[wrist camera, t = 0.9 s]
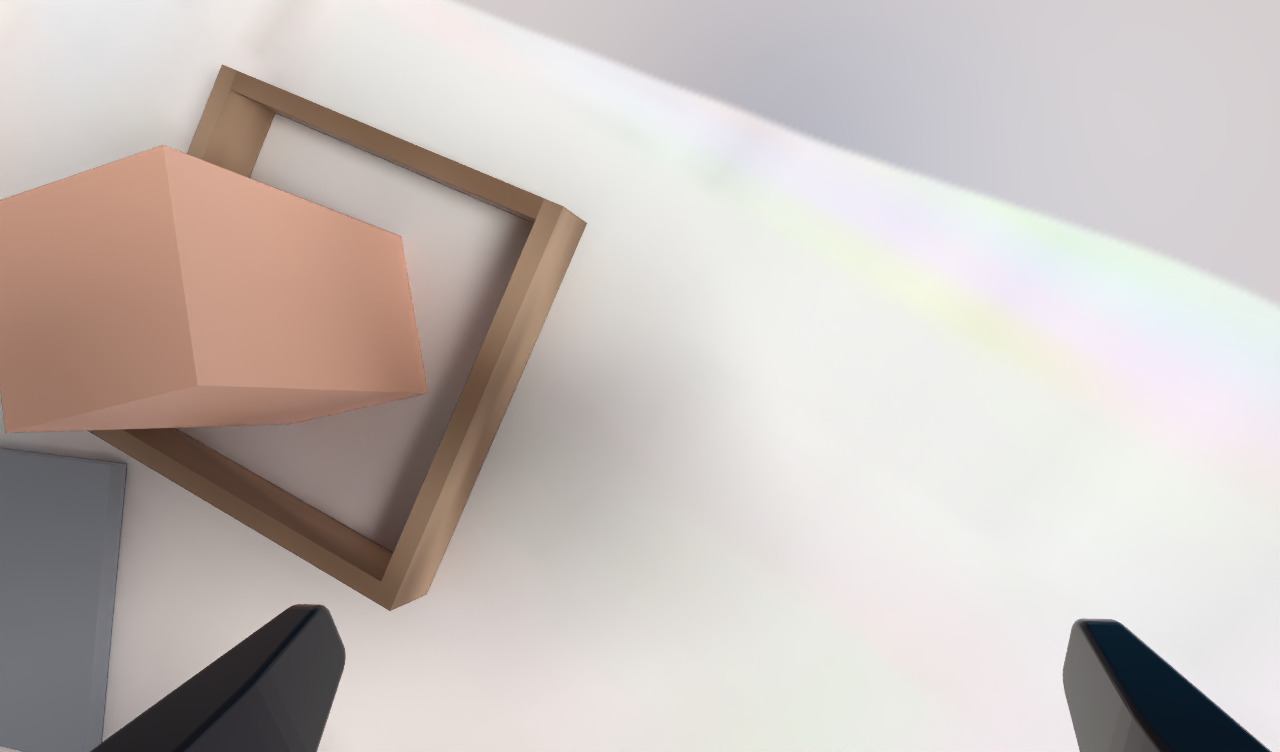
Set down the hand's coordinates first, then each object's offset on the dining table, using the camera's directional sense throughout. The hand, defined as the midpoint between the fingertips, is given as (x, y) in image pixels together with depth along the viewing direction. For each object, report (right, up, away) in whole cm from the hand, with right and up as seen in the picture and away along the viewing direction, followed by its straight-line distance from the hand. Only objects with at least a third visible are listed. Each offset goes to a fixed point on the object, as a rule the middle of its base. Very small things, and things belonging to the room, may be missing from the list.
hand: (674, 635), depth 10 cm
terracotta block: (-10, +5, +16) cm, 19 cm away
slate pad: (-23, -4, +19) cm, 30 cm away
